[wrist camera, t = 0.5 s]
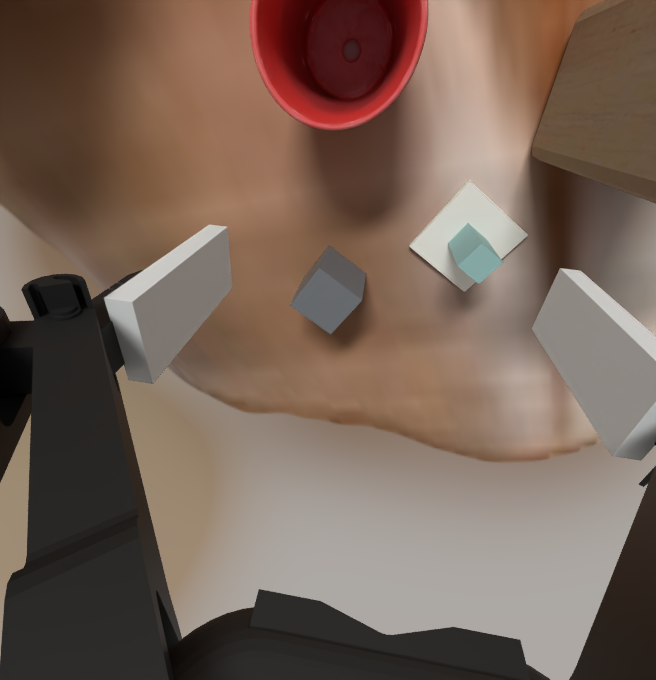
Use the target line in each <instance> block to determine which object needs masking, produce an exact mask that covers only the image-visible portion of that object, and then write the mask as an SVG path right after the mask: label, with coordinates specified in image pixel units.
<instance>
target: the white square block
mask: <svg viewBox="0 0 656 680" xmlns="http://www.w3.org/2000/svg"><path fill="white" fill-rule="evenodd" d="M527 236H528V234H527V233H526V232H525V231H524V230H522V229H521V228H520V227H519V226H518V225H517V224H516V223H515V222H514V221H513V220H512V219H511V218H510V217H509V216H507V215H506V214H505V213H504V212H503V211H502V210H501V209H500V208H499V207H498V206H497V205H496V204H495V203H493V202H492V201H491V200H490V199H489V198H488V197H487V196H486V195H485V194H484V193H483V192H482V191H481V190H480V189H478V188H477V187H476V186H475V185H474V184H473V183H472V182H471V181H470V180H469V181H468V182H467V183H466V184H465V185H464V186H463V187H462V188H461V189H460V190H459V191H458V192H457V194H456V195H455V196H454V197H453V198H452V199H451V200H450V201H449V202H448V203H447V204H446V206H445V207H444V208H443V209H442V210H441V211H440V212H439V213H438V214H437V215H436V216H435V218H434V219H433V220H432V221H431V222H430V223H429V224H428V225H427V226H426V227H425V228H424V229H423V231H422V232H421V233H420V234H419V235H418V236H417V237H416V238H415V239H414V240H413V241H412V243H411V244H410V245H409V246H410V248H412V249H413V250H414V251H415V252H417V253H418V254H419V255H420V256H421V257H423V258H424V259H425V260H426V261H427V262H429V263H430V264H431V265H432V266H433V267H435V268H436V269H437V270H438V271H439V272H441V273H442V274H443V275H444V276H445V277H447V278H448V279H449V280H450V281H451V282H453V283H454V284H455V285H456V286H458V287H459V288H460V289H461V290H462V291H464V292H465V291H466V290H467V289H469V288H470V287H471V286H472V285H473V284H474V283H475V282H477V283H478V284H479V283H480V282H482V281H483V280H484V279H485V278H486V277H487V276H488V275H489V274H491V273H492V272H493V271H494V270H495V269H496V268H497V267H498V266H500V265H501V264H502V263H503V261H502V260H501V259H502V258H503V257H504V256H506V255H507V254H508V253H509V252H510V251H511V250H512V249H513V248H515V247H516V246H517V245H518V244H519V243H520V242H521V241H522V240H523V239H525V238H526V237H527Z"/></svg>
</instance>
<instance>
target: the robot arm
mask: <svg viewBox="0 0 656 680" xmlns="http://www.w3.org/2000/svg"><path fill="white" fill-rule="evenodd" d="M231 289H232V279H231V266H230V253H229V240H228V227H225V226H217V225H208V226H207V227H205V228H204V229H202V230H201V231H199V232H198V233H196V234H195V235H194V236H192V237H191V238H189V239H188V240H186V241H185V242H184V243H182V244H181V245H179V246H178V247H176V248H175V249H173V250H172V251H171V252H169V253H168V254H166V255H165V256H163V257H162V258H161V259H159V260H158V261H156V262H155V263H153V264H152V265H151V266H149V267H148V268H146V269H145V270H141V271H138V272H135V273H132V274H130V275H127V276H126V277H125V278H123V279H122V280H120V281H119V282H118V283H116V284H114V285H113V286H111V287H110V289H107V290H105V291H104V292H102V293H101V294H99V295H98V296H96V297H95V298H93V299H92V300H91V297H90V294H89V291H88V288H87V285H86V282H85V280H84V279H83V277H81V276H77V275H73V274H56V275H49V276H44V277H40V278H38V279H35V280H32V281H30V282H29V283H27V284H25V285H24V286H23V288H22V292H23V294H24V297H25V299H26V301H27V304H28V306H29V308H30V310H31V312H32V315H33V317H34V321H9V319H8V317H7V315H6V313H5V311H4V309H2V307H0V482H1V480H2V478H3V475H4V473H5V471H6V469H7V466H8V464H9V462H10V460H11V457H12V455H13V452H14V450H15V448H16V446H17V444H18V441H19V439H20V437H21V435H22V432H23V430H24V428H25V426H26V423H27V421H28V419H29V417H30V414H31V438H30V440H31V441H30V470H29V502H28V537H27V558H26V564H25V566H24V568H23V569H21V570H18V571H16V572H14V573H12V575H11V577H10V580H9V581H8V583H7V589H6V596H5V602H4V617H3V630H2V644H1V660H0V680H550V679H549V678H548V677H546V676H544V675H543V674H541V673H540V672H538V671H536V670H535V669H534V668H532V667H531V666H529V665H527V664H526V661H525V657H524V653H523V649H522V645H521V641H520V640H517V639H513V638H508V637H502V636H497V635H492V634H487V633H482V632H477V631H471V630H466V629H461V628H456V627H451V628H443V629H435V630H428V631H421V632H412V633H405V634H397V635H386V634H382V633H380V632H378V631H376V630H374V629H372V628H370V627H368V626H367V625H365V624H363V623H361V622H359V621H357V620H355V619H353V618H351V617H350V616H348V615H346V614H344V613H342V612H340V611H338V610H336V609H334V608H332V607H331V606H329V605H327V604H325V603H323V602H321V601H317V600H311V599H307V598H301V597H296V596H291V595H286V594H281V593H276V592H270V591H265V590H260V589H259V591H258V595H257V599H256V602H255V606H254V607H253V608H247V609H241V610H237V611H234V612H231V613H227V614H225V615H222V616H220V617H218V618H215V619H213V620H211V621H209V622H207V623H206V624H204V625H202V626H200V627H198V628H197V629H195V630H193V631H192V632H191V633H189V634H188V635H187V636H185V637H184V638H183V639H182V637H181V633H180V629H179V626H178V622H177V618H176V615H175V611H174V608H173V605H172V601H171V598H170V594H169V590H168V587H167V582H166V578H165V574H164V570H163V566H162V562H161V557H160V553H159V549H158V545H157V541H156V537H155V533H154V529H153V524H152V520H151V516H150V512H149V508H148V503H147V499H146V495H145V491H144V487H143V483H142V479H141V474H140V471H139V466H138V462H137V458H136V454H135V450H134V445H133V441H132V438H131V433H130V429H129V425H128V421H127V417H126V412H125V408H124V404H123V400H122V396H121V392H120V388H119V383H118V380H117V377H116V374H115V373H116V372H117V371H118V370H119V369H120V368H121V367H122V366H123V365H124V366H125V369H126V373H127V376H128V379H129V380H133V381H139V382H145V383H151V384H153V383H154V382H155V381H156V379H157V378H158V377H159V376H160V375H161V373H162V372H163V371H164V370H165V369H166V367H167V366H168V365H169V364H170V363H171V361H172V360H173V359H174V358H175V357H176V355H177V354H178V353H179V352H180V351H181V349H182V348H183V347H184V346H185V345H186V343H187V342H188V341H189V340H190V338H191V337H192V336H193V335H194V334H195V332H196V331H197V330H198V329H199V328H200V326H201V325H202V324H203V323H204V322H205V320H206V319H207V318H208V317H209V316H210V314H211V313H212V312H213V311H214V309H215V308H216V307H217V306H218V305H219V303H220V302H221V301H222V300H223V299H224V297H225V296H226V295H227V294H228V293H229V291H230V290H231ZM532 331H533V332H534V334H535V335H536V337H537V338H538V340H539V342H540V343H541V345H542V346H543V348H544V350H545V351H546V353H547V354H548V356H549V357H550V359H551V361H552V362H553V364H554V365H555V367H556V368H557V370H558V372H559V373H560V375H561V376H562V378H563V380H564V381H565V383H566V384H567V386H568V387H569V389H570V391H571V392H572V394H573V395H574V397H575V399H576V400H577V402H578V403H579V405H580V406H581V408H582V410H583V411H584V413H585V414H586V416H587V418H588V419H589V421H590V422H591V424H592V425H593V427H594V429H595V430H596V432H597V433H598V435H599V437H600V438H601V440H602V441H603V443H604V444H605V446H606V447H607V449H608V451H609V452H610V454H611V455H612V456H616V457H622V458H628V459H635V460H642V459H643V458H644V457H645V456H646V455H647V453H648V452H649V451H650V450H651V449H652V448H653V447H654V445H656V336H655V335H653V334H652V333H651V332H650V331H649V330H648V329H647V328H645V327H644V326H643V325H642V324H641V323H640V322H639V321H637V320H636V319H635V318H634V317H633V316H632V315H631V314H629V313H628V312H627V311H626V310H625V309H624V308H623V307H622V306H620V305H619V304H618V303H617V302H616V301H615V300H614V299H612V298H611V297H610V296H609V295H608V294H607V293H606V292H604V291H603V290H602V289H601V288H600V287H599V286H598V285H596V284H595V283H594V282H593V281H592V280H591V279H590V278H588V277H587V276H586V275H585V274H584V273H583V272H582V271H579V270H571V269H563V268H560V269H559V271H558V274H557V276H556V278H555V280H554V282H553V284H552V286H551V288H550V291H549V293H548V295H547V297H546V299H545V301H544V303H543V305H542V308H541V310H540V312H539V314H538V316H537V318H536V320H535V322H534V325H533V327H532ZM647 484H648V486H647V488H646V491H645V494H644V496H643V499H642V501H641V504H640V506H639V509H638V511H637V514H636V516H635V519H634V521H633V524H632V526H631V529H630V532H629V534H628V537H627V539H626V542H625V544H624V547H623V549H622V552H621V554H620V557H619V559H618V562H617V564H616V567H615V570H614V572H613V575H612V577H611V580H610V582H609V585H608V587H607V590H606V592H605V595H604V598H603V600H602V602H601V605H600V608H599V610H598V613H597V615H596V618H595V620H594V623H593V625H592V628H591V630H590V633H589V636H588V638H587V640H586V643H585V646H584V648H583V651H582V653H581V656H580V658H579V661H578V663H577V666H576V668H575V670H574V673H573V674H572V676H571V677H570V679H569V680H656V466H655V467H654V468H653V469H652V471H651V472H650V473H649V474H648V475H647V476H646V477H645V478H644V479H643V480H642V481H641V482H640V483H639V485H641V486H643V487H644V486H645V485H647Z"/></svg>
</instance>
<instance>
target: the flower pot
mask: <svg viewBox="0 0 656 680" xmlns="http://www.w3.org/2000/svg"><path fill="white" fill-rule="evenodd" d="M427 25H428V0H251V7H250V36H251V43H252V49H253V53H254V58H255V62H256V65H257V68H258V71H259V73H260V76H261V78H262V80H263V82H264V84H265V86H266V88H267V89H268V91H269V93H270V94H271V96H272V97H273V98H274V100H275V101H276V102H277V103H278V105H279V106H280V107H281V108H282V109H283V110H284V111H285V112H287V113H288V114H289V115H290V116H291V117H293V118H294V119H296V120H298V121H299V122H301V123H303V124H305V125H307V126H310V127H313V128H317V129H322V130H345V129H350V128H353V127H357V126H360V125H362V124H364V123H366V122H369V121H370V120H372V119H374V118H375V117H377V116H378V115H379V114H381V113H382V112H383V111H385V110H386V109H387V108H388V107H389V106H390V105H391V104H392V103H393V102H394V101H395V100H396V99H397V98H398V96H399V95H400V94H401V93H402V91H403V90H404V88H405V87H406V85H407V84H408V82H409V80H410V78H411V77H412V75H413V73H414V71H415V68H416V66H417V64H418V61H419V58H420V55H421V52H422V49H423V46H424V42H425V37H426V32H427Z"/></svg>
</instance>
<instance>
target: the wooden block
mask: <svg viewBox="0 0 656 680" xmlns="http://www.w3.org/2000/svg"><path fill="white" fill-rule="evenodd" d="M532 156H533V157H535V158H536V159H538V160H540V161H542V162H545V163H548V164H551V165H553V166H556V167H559V168H561V169H564V170H567V171H570V172H572V173H575V174H578V175H580V176H583V177H586V178H589V179H591V180H594V181H597V182H599V183H602V184H605V185H608V186H610V187H613V188H616V189H618V190H621V191H624V192H627V193H629V194H632V195H635V196H638V197H640V198H643V199H646V200H648V201H651V202H654V203H656V0H605V1H603V2H601V3H599V4H597V5H595V6H593V7H590V8H588V9H586V10H584V11H583V13H582V14H581V16H580V17H579V18H578V20H577V21H576V23H575V25H574V28H573V31H572V34H571V36H570V39H569V42H568V45H567V48H566V51H565V54H564V56H563V59H562V62H561V65H560V68H559V71H558V73H557V76H556V79H555V82H554V85H553V88H552V90H551V93H550V96H549V99H548V102H547V105H546V107H545V110H544V113H543V116H542V119H541V122H540V125H539V127H538V130H537V133H536V136H535V139H534V142H533V144H532Z"/></svg>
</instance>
